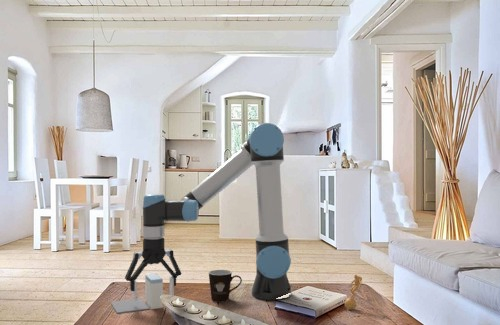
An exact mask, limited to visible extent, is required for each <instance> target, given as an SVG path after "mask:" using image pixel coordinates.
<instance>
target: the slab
mask: <svg viewBox="0 0 500 325" xmlns="http://www.w3.org/2000/svg"><path fill="white" fill-rule="evenodd" d="M144 280H145V281H144V282H145V283H144V284H145V285H144V286H145V287H144V288H145V292H144V297H145V298H144V302H145V303H146V304H147V306H148V307H149V308H150V310H155V309H163V303H162V301H161V299H160V296H161V295H163V292H164V291H163V283H164V280H163V278H162V276H160V275H158V274H157V273H150V274H148V273H147V274H145V278H144Z"/></svg>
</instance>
